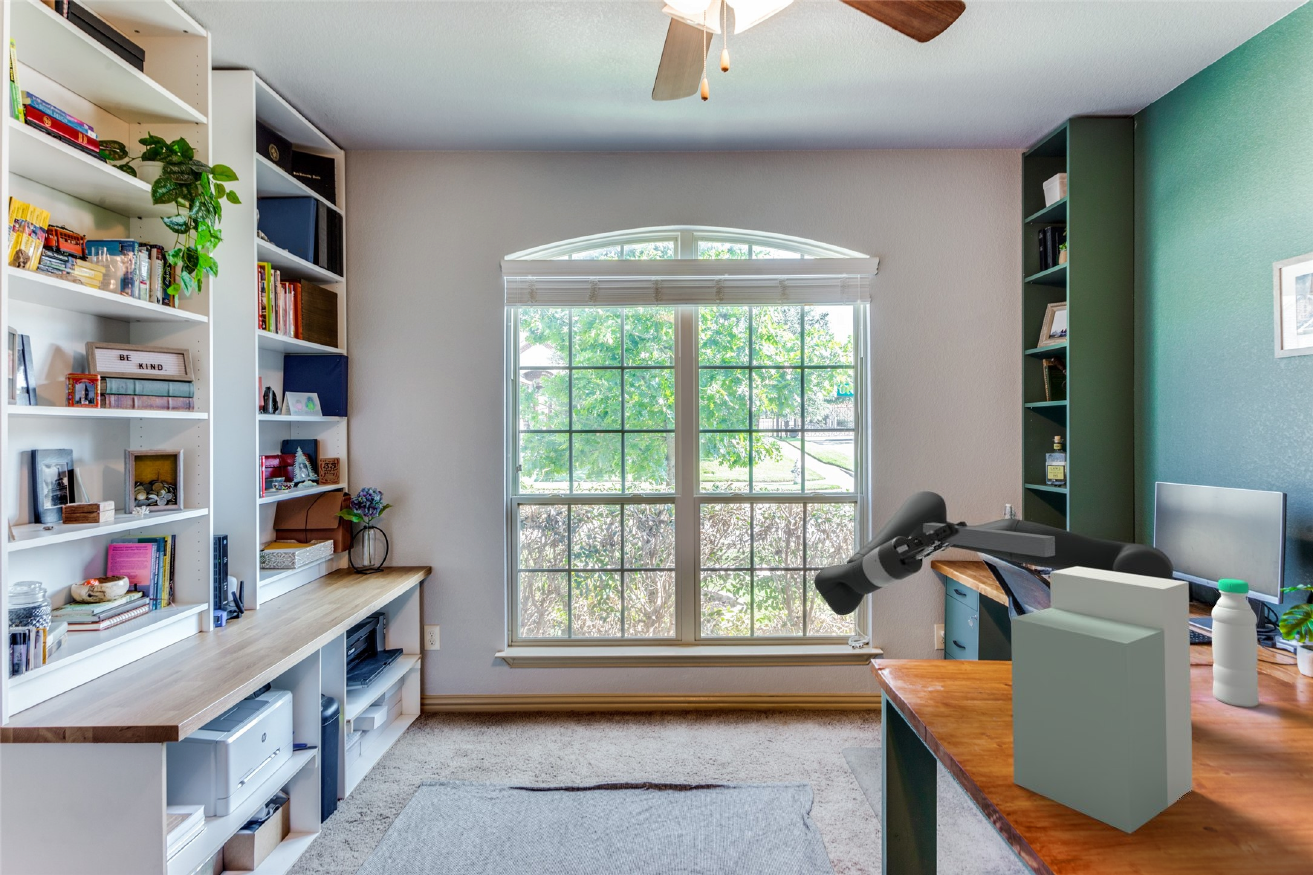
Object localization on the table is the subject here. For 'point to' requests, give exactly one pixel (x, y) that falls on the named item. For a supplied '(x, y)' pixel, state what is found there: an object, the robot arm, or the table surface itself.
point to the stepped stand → (1105, 695)
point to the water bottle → (1234, 646)
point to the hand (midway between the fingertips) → (960, 526)
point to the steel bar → (999, 540)
